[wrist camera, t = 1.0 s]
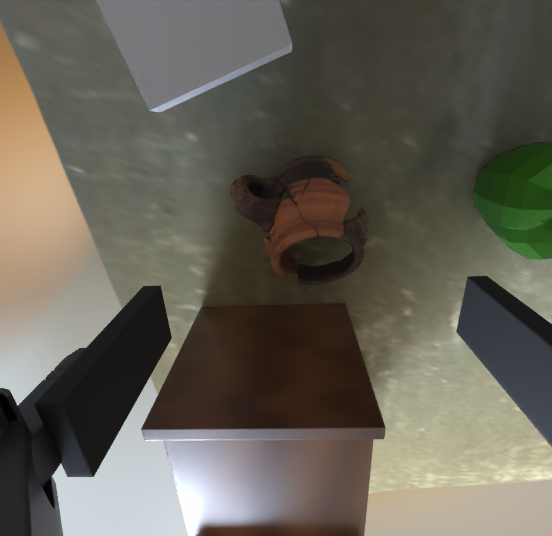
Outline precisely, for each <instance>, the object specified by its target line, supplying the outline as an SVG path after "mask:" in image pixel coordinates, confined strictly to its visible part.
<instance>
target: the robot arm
mask: <svg viewBox="0 0 552 536" xmlns="http://www.w3.org/2000/svg"><path fill="white" fill-rule="evenodd" d="M457 333H458V334H459V336H460V337H461V338H462V339H463V340H464V342H465V343H466V344H467V345H468V346H469V348H470V349H471V350H472V351H473V352H474V354H475V355H476V356H477V357H478V359H479V360H480V361H481V362H482V363H483V365H484V366H485V367H486V368H487V369H488V371H489V372H490V373H491V374H492V375H493V377H494V378H495V379H496V380H497V381H498V383H499V384H500V385H501V386H502V387H503V389H504V390H505V391H506V392H507V393H508V395H509V396H510V397H511V398H512V399H513V401H514V402H515V403H516V404H517V406H518V407H519V408H520V409H521V410H522V412H523V413H524V414H525V415H526V416H527V418H528V419H529V420H530V421H531V422H532V424H533V425H534V426H535V427H536V428H537V430H538V431H539V432H540V433H541V434H542V436H543V437H544V438H545V439H546V440H547V442H548V443H549V444H550V445H551V446H552V324H551V323H549V322H548V321H547V320H545V319H544V318H543V317H541V316H540V315H539V314H537V313H536V312H535V311H533V310H532V309H531V308H529V307H528V306H526V305H525V304H524V303H522V302H521V301H520V300H518V299H517V298H516V297H514V296H513V295H512V294H510V293H509V292H508V291H506V290H505V289H503V288H502V287H501V286H499V285H498V284H497V283H495V282H494V281H493V280H491V279H490V278H489V277H487V276H471V277H468V278H467V283H466V287H465V292H464V297H463V302H462V307H461V312H460V317H459V322H458V327H457ZM171 338H172V337H171V332H170V328H169V323H168V318H167V314H166V309H165V304H164V299H163V295H162V290H161V286H143V287H142V288H141V290H140V291H139V292H138V293H137V294H136V295H135V296H134V297H133V298H132V299H131V300H130V301H129V302H128V304H127V305H126V306H125V307H124V308H123V309H122V310H121V311H120V312H119V313H118V314H117V315H116V317H115V318H114V319H113V320H112V321H111V322H110V323H109V324H108V325H107V326H106V327H105V328H104V330H103V331H102V332H101V333H100V334H99V335H98V336H97V337H96V338H95V339H94V340H93V341H92V342H91V344H89V346H88V347H87V348H79V349H78V350H76V351H75V352H73V353H72V354H70V355H69V356H67V357H66V358H64V359H63V360H62V361H61V362H60V363H59V365H58V366H57V367H56V368H55V370H54V371H52V372H51V373H50V374H49V375H48V376H47V377H46V380H43V381H42V382H41V383H40V384H39V385H38V386H37V387H36V388H35V389H34V390H33V391H32V392H31V393H30V394H29V395H28V396H27V397H26V398H25V399H24V400H23V401H22V402H21V403H20V404H19V405H18V406H17V404H16V402H15V400H14V398H13V396H12V394H11V392H10V390H8V389H4V388H0V536H63V531H62V524H61V517H60V511H59V503H58V496H57V490H56V483H55V482H54V479H53V477H52V475H53V474H54V472H55V471H56V470H57V468H58V466H59V465H60V463H61V464H62V466H63V468H64V470H65V472H66V474H67V477H94V475H95V473H96V472H97V470H98V468H99V466H100V465H101V463H102V461H103V459H104V457H105V456H106V454H107V452H108V450H109V449H110V447H111V445H112V443H113V441H114V440H115V438H116V436H117V434H118V432H119V431H120V429H121V427H122V425H123V423H124V422H125V420H126V418H127V416H128V415H129V413H130V411H131V409H132V408H133V406H134V404H135V402H136V400H137V399H138V397H139V395H140V393H141V392H142V390H143V388H144V386H145V384H146V383H147V381H148V379H149V377H150V376H151V374H152V372H153V370H154V368H155V367H156V365H157V363H158V361H159V360H160V358H161V356H162V354H163V352H164V351H165V349H166V347H167V345H168V344H169V342H170V340H171Z"/></svg>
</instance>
